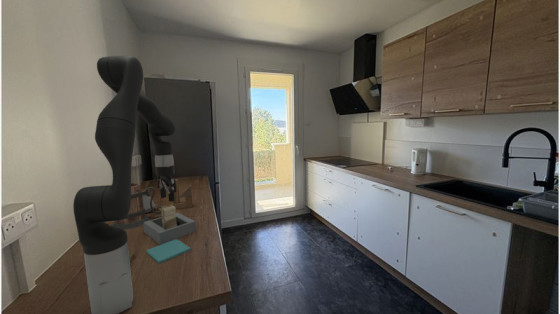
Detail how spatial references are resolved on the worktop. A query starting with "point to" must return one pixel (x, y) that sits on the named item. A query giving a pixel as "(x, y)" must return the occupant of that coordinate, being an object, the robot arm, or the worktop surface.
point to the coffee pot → (147, 201)
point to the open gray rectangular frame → (162, 236)
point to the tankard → (136, 209)
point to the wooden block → (186, 194)
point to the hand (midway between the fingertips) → (167, 199)
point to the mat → (168, 250)
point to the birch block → (168, 217)
